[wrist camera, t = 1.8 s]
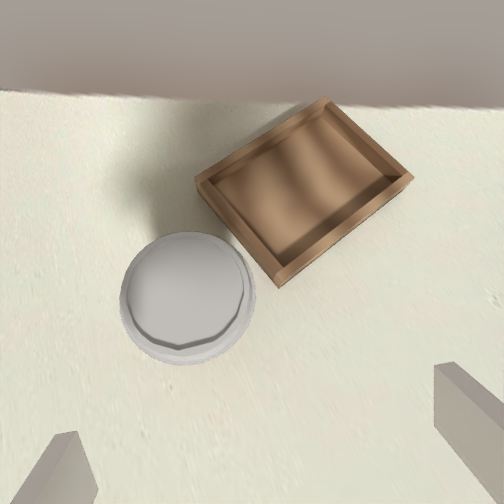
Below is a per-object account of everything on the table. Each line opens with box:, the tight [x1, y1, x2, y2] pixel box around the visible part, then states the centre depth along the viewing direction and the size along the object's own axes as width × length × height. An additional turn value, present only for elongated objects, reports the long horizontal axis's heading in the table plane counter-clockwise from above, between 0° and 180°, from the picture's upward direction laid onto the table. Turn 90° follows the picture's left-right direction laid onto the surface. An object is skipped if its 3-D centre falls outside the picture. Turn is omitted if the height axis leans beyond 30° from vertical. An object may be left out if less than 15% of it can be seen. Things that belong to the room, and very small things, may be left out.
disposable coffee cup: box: [119, 231, 256, 365], centre depth 26 cm, size 10×10×12 cm
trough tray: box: [195, 96, 415, 289], centre depth 36 cm, size 20×15×3 cm
